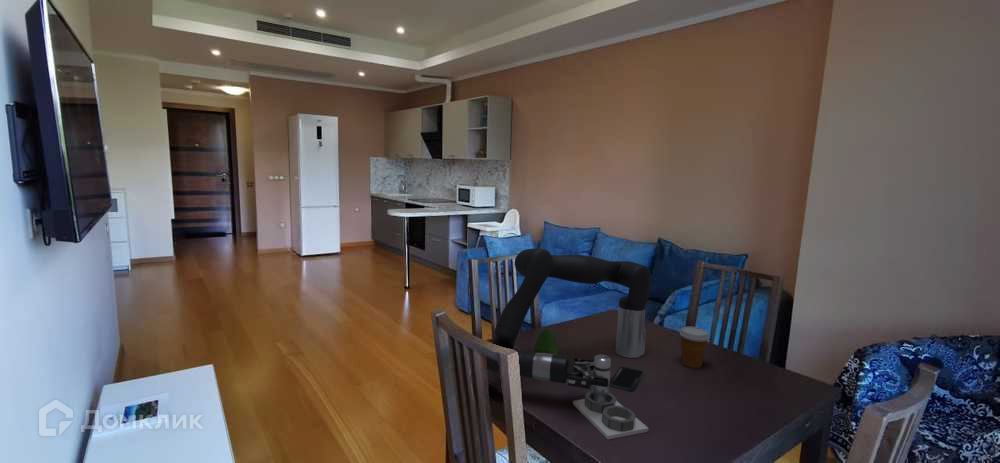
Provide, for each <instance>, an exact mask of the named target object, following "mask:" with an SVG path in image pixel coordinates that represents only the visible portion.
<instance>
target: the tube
mask: <svg viewBox="0 0 1000 463" xmlns="http://www.w3.org/2000/svg"><path fill="white" fill-rule="evenodd" d="M593 359H594V372H593V374H592V376H593V377H594V376H595V377H602V378H608V387H602V386H596V385H593V386H592V391H593V392H592V400H593V401H596V402H600V403H606V402H608V397H609V393H610V386H609V382H610V380H611V379H610V378H611V366H612V357H611V356H609V355H606V354H597V355H594V358H593Z"/></svg>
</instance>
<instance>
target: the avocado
mask: <svg viewBox="0 0 1000 463" xmlns="http://www.w3.org/2000/svg"><path fill="white" fill-rule="evenodd" d="M534 353H548V354H556V355H559V354H558V353H559V346H558V343H557V339H556V336H555V333H554V330H552V329H550V328H549V329H547V328H546V329H544V330H542V332H540V334H539V336H538V338H537V339H536V341H535V343H534Z"/></svg>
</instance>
